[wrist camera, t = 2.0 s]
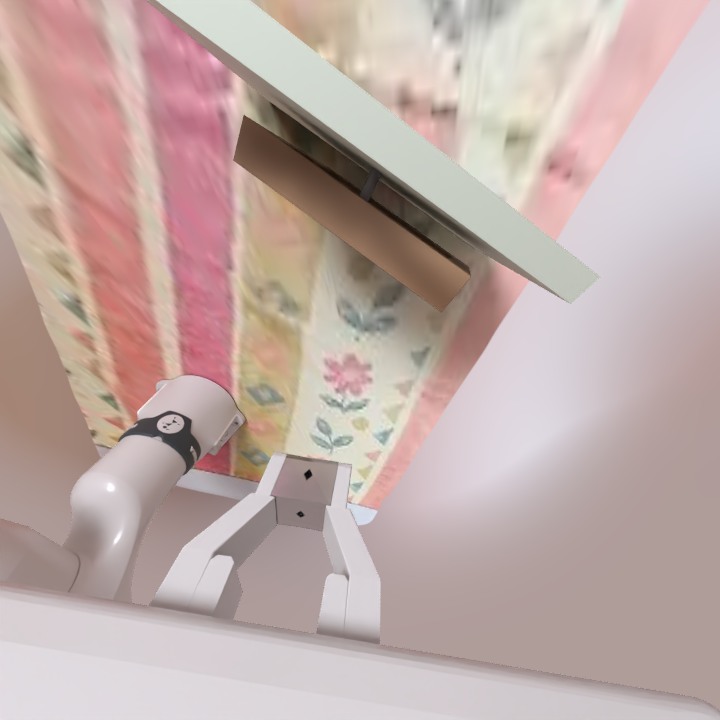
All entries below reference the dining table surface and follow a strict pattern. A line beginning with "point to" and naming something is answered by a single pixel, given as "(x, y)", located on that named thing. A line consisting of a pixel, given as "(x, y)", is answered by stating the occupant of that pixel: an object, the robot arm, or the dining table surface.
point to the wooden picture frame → (351, 215)
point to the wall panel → (374, 138)
